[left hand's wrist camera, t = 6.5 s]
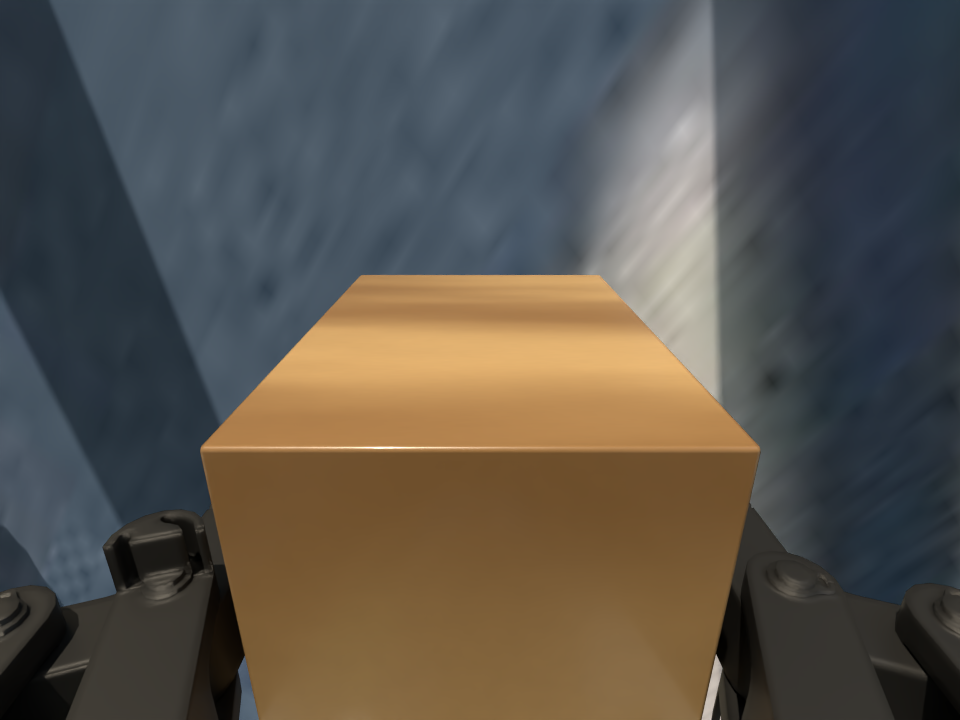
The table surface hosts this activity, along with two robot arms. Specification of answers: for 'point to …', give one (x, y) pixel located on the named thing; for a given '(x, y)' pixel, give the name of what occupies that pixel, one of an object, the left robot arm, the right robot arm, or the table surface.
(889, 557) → the table surface
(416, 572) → the box
